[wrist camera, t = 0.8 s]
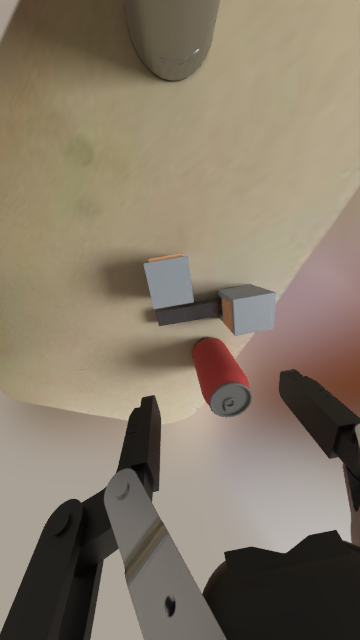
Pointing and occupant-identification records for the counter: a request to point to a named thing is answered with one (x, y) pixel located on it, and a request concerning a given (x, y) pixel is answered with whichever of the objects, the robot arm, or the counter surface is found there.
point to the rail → (189, 311)
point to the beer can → (221, 378)
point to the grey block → (169, 280)
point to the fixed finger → (247, 309)
